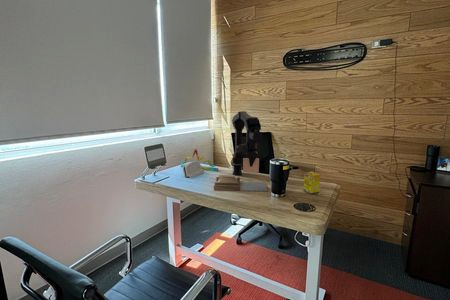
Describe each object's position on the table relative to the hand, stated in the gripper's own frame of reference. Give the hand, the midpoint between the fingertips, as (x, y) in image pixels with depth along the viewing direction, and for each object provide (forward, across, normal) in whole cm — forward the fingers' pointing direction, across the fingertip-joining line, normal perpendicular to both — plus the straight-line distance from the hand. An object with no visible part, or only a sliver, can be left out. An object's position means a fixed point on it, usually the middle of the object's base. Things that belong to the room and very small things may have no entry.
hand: (251, 165), depth 141 cm
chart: (+14, -39, -37) cm, 55 cm away
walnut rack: (+13, -2, -14) cm, 19 cm away
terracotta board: (+4, 0, 0) cm, 4 cm away
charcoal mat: (+13, 0, +2) cm, 13 cm away
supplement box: (+13, +6, +33) cm, 36 cm away
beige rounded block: (+13, -24, -39) cm, 48 cm away
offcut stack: (+13, -7, -14) cm, 20 cm away
